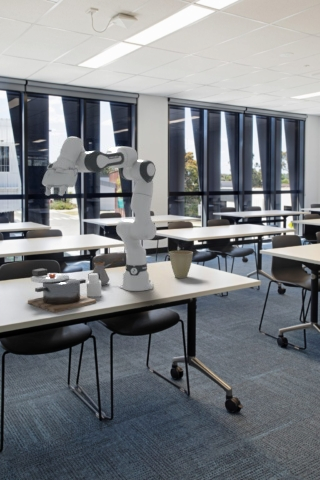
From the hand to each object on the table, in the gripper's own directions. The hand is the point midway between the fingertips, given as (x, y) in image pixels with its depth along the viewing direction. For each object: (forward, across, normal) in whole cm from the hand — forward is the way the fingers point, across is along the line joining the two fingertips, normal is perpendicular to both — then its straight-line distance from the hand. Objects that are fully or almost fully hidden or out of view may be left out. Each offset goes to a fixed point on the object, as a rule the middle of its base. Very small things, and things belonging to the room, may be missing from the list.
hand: (53, 195), depth 208 cm
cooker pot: (+42, +9, -33) cm, 54 cm away
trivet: (+43, +10, -34) cm, 56 cm away
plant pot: (+3, 0, -111) cm, 111 cm away
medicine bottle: (+33, +9, -53) cm, 63 cm away
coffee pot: (+22, +23, -74) cm, 81 cm away
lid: (+33, +21, -30) cm, 49 cm away
